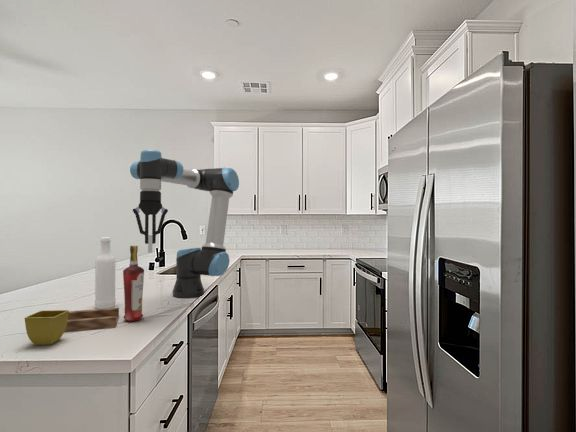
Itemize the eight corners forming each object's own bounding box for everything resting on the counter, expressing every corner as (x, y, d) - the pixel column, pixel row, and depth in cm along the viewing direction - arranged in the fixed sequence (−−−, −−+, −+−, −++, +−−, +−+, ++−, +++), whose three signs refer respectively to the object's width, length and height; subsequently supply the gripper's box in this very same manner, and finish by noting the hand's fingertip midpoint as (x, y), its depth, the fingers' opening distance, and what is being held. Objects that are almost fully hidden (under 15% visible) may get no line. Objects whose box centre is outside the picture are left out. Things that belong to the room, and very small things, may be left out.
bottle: (106, 309, 152) (107, 237, 152) (90, 308, 153) (90, 237, 153) (119, 305, 160) (119, 236, 160) (103, 304, 161) (104, 236, 161)
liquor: (132, 316, 142) (132, 244, 142) (147, 318, 140) (148, 245, 140) (118, 321, 135) (118, 246, 135) (134, 323, 133) (135, 247, 133)
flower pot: (40, 338, 117) (41, 310, 117) (69, 337, 118) (69, 309, 118) (23, 347, 108) (23, 317, 108) (54, 347, 109) (54, 317, 109)
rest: (118, 316, 142) (118, 307, 142) (115, 327, 128) (115, 317, 128) (43, 322, 133) (43, 313, 133) (31, 335, 119) (31, 324, 119)
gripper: (168, 191, 145) (167, 251, 145) (132, 190, 141) (132, 251, 141) (169, 190, 138) (168, 252, 138) (131, 189, 134) (131, 253, 134)
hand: (150, 252), depth 139 cm, fingers closed
